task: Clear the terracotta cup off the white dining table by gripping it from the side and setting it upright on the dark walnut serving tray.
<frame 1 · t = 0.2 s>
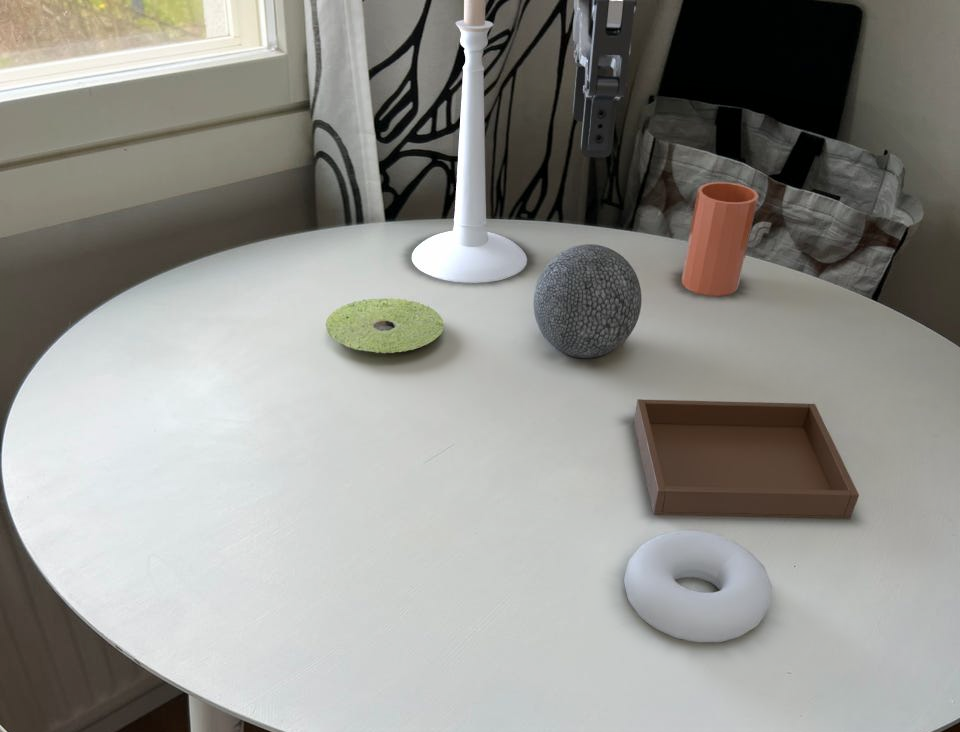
hand: (590, 137, 72), 21 cm above the table, tool pointing down, fingers open, 8 cm apart
green disc: (385, 343, 92), on the table
tray: (734, 473, 78), on the table
decorative ball: (581, 353, 92), on the table
cup: (708, 288, 103), on the table
donut: (692, 605, 66), on the table
candlestick: (469, 264, 106), on the table
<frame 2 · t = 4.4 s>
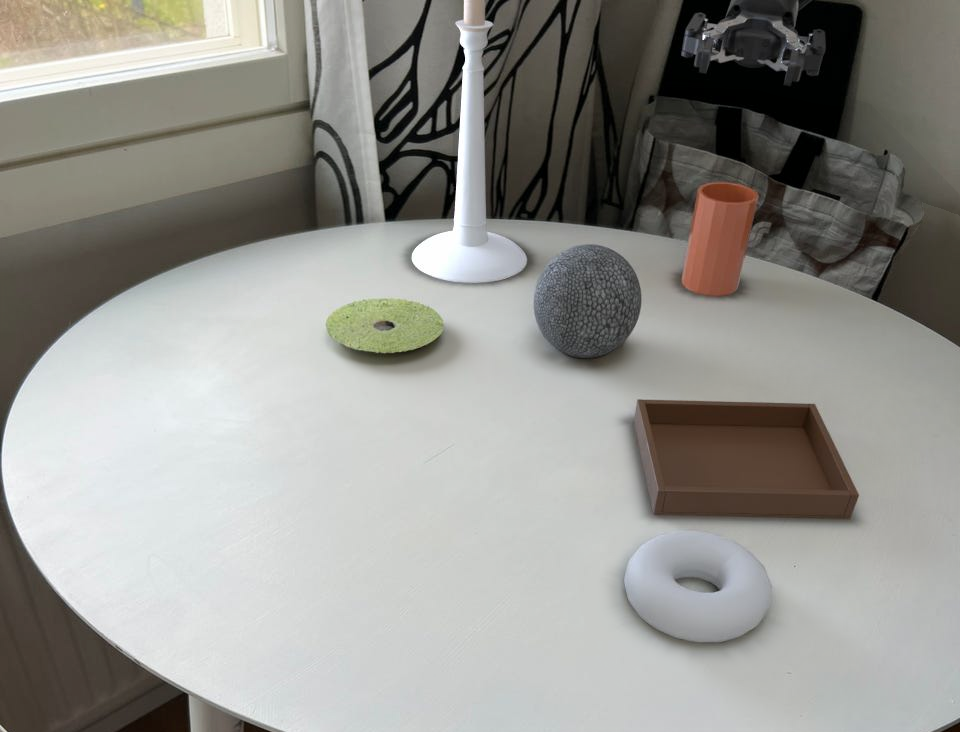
hand: (747, 68, 95), 19 cm above the table, tool horizontal, fingers open, 8 cm apart
nothing on the table moved.
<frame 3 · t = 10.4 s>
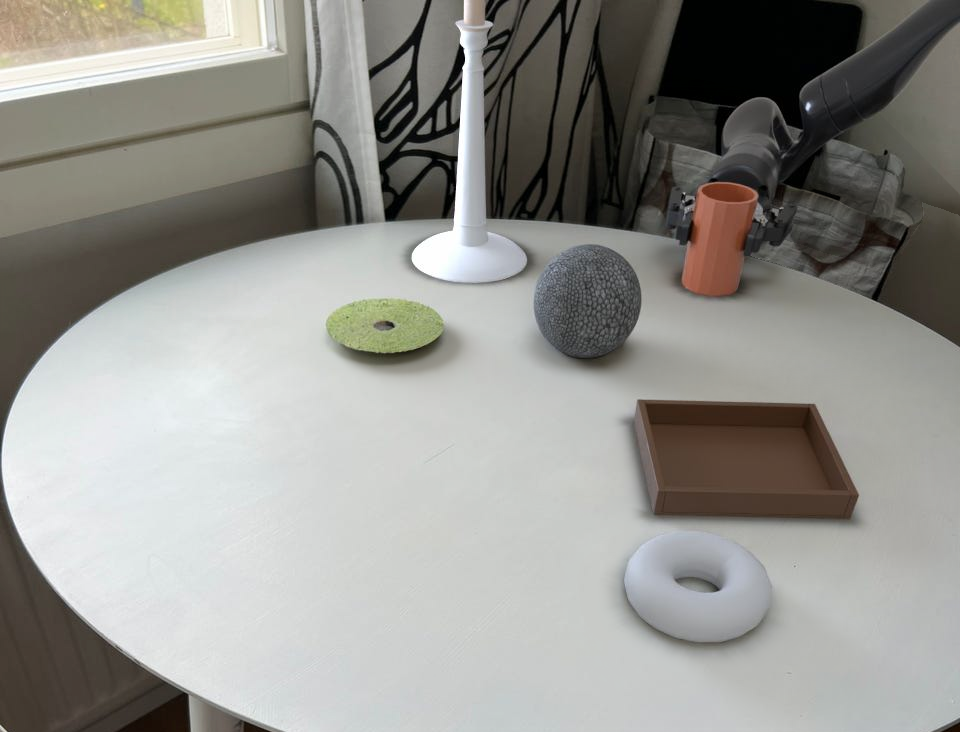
hand: (716, 241, 97), 6 cm above the table, tool horizontal, fingers closed on cup, 6 cm apart
cup: (708, 288, 103), on the table, touching gripper
everything else where it was.
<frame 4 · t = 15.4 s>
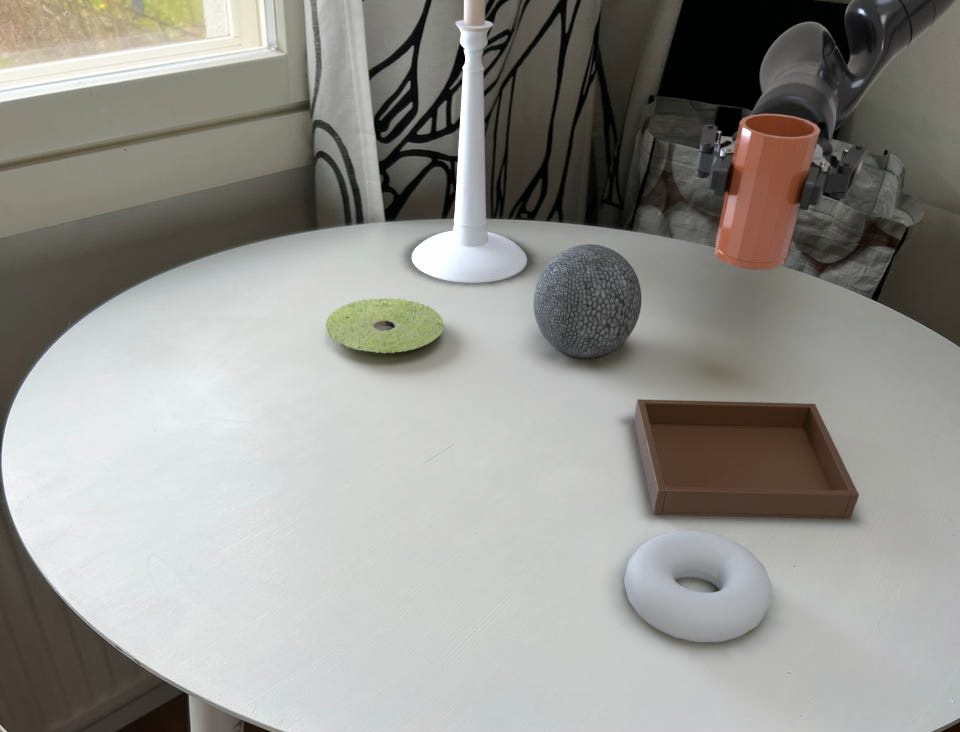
hand: (763, 190, 74), 18 cm above the table, tool horizontal, fingers closed on cup, 6 cm apart
cup: (750, 254, 80), point 12 cm above the table, touching gripper
everything else where it was.
when the fingers open (7 cm above the table, at t = 20.9 s): cup stays where it is, resting on tray.
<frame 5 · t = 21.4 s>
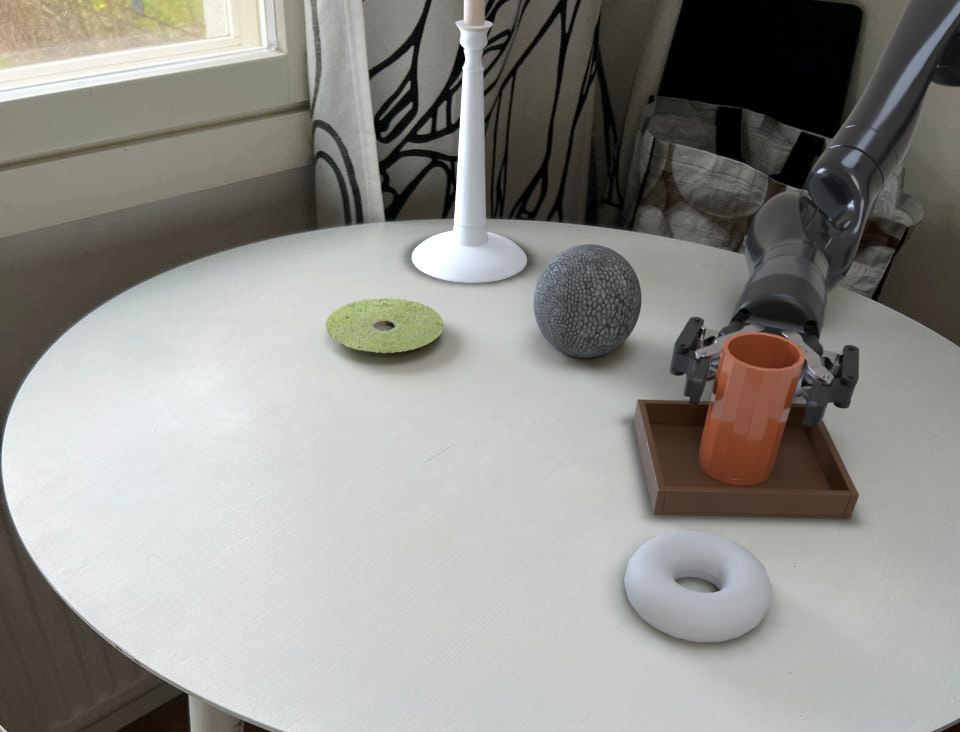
hand: (751, 405, 71), 7 cm above the table, tool horizontal, fingers open, 8 cm apart
cup: (734, 464, 77), point 1 cm above the table, touching tray
everything else where it was.
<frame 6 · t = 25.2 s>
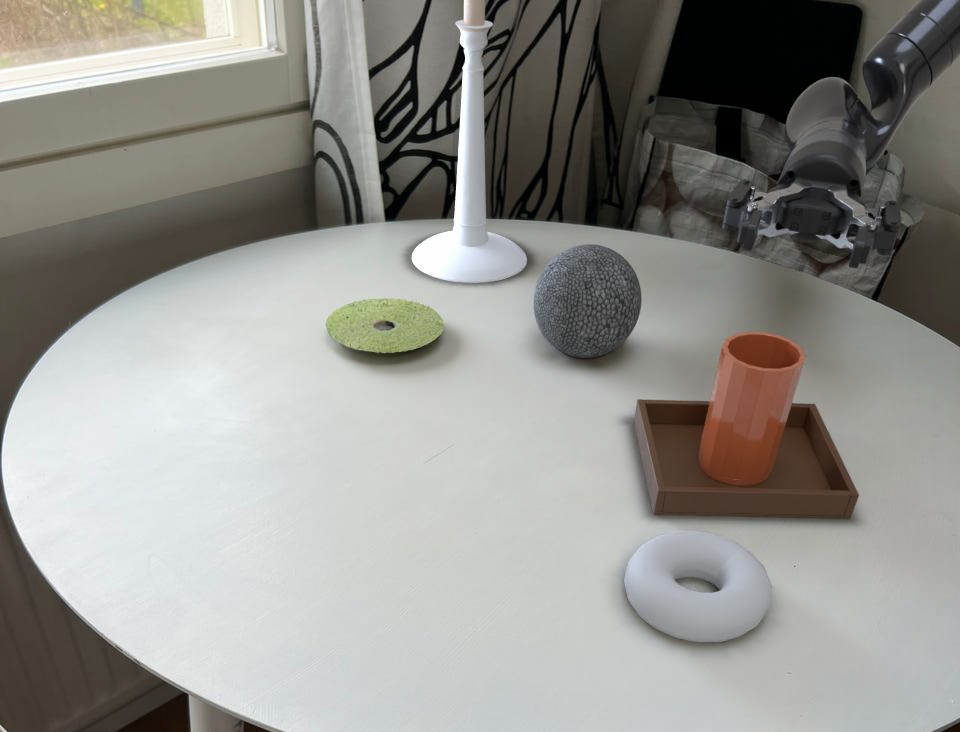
hand: (802, 247, 77), 14 cm above the table, tool horizontal, fingers open, 8 cm apart
nothing on the table moved.
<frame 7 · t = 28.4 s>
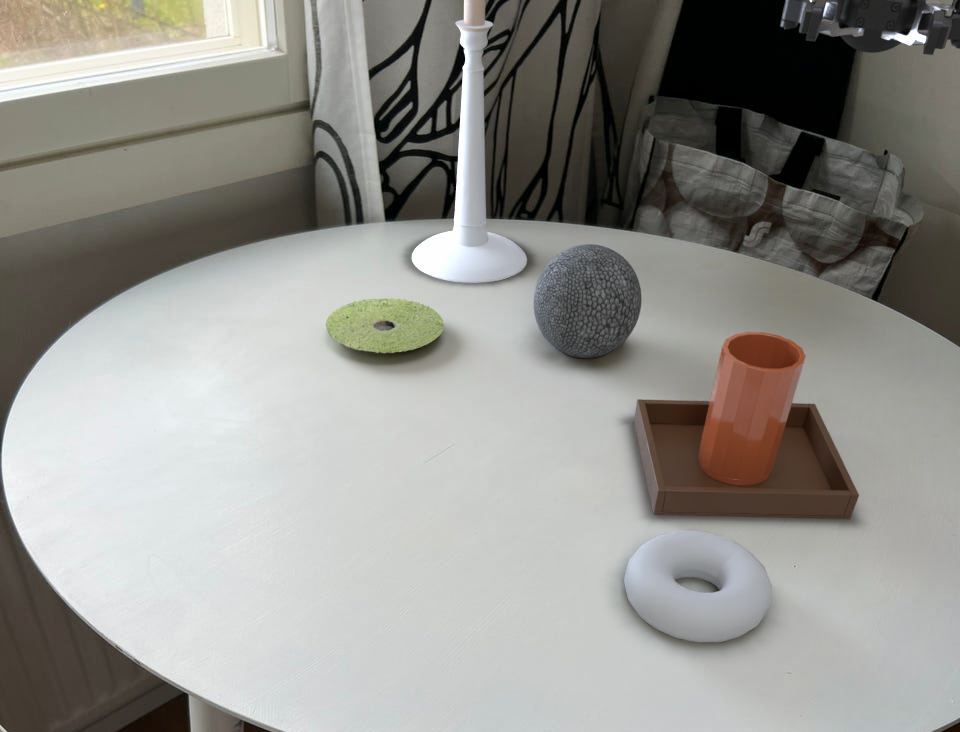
hand: (872, 31, 70), 28 cm above the table, tool horizontal, fingers open, 8 cm apart
nothing on the table moved.
at the end: cup inside the target area in the tray (0.1 cm from its centre), point 0.8 cm above the tray's base; cup tilted 0°; the gripper is holding nothing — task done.
